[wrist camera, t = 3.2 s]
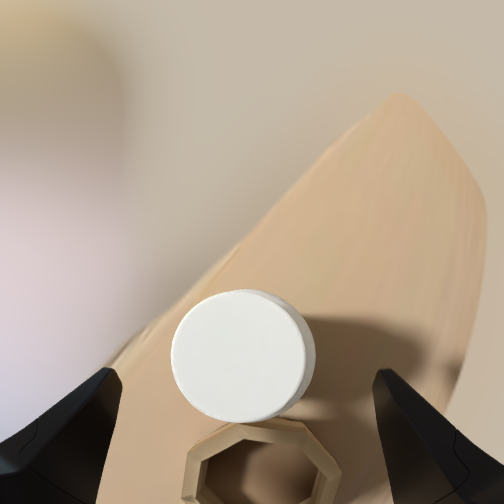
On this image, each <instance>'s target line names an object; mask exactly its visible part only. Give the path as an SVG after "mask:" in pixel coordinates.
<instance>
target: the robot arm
mask: <svg viewBox="0 0 504 504" xmlns="http://www.w3.org/2000/svg"><path fill="white" fill-rule="evenodd" d="M372 391H373V397H374V404H375V412H376V420H377V427H378V432H379V436H380V440H381V444H382V449H383V453H384V457H385V462H386V466H387V471H388V476H389V481H390V486H391V491H392V497H393V502H394V504H504V465H503V464H501V463H499V462H498V461H497V460H495V459H494V458H493V457H491V456H489V455H488V454H487V453H485V452H484V451H483V450H481V449H480V448H479V447H477V446H476V445H475V444H473V443H472V442H471V441H470V440H469V439H468V438H466V437H465V436H464V435H463V434H462V433H461V432H460V431H459V430H458V429H456V428H455V427H454V426H453V425H452V424H451V423H450V422H449V421H448V420H447V419H446V418H445V417H444V416H443V415H441V414H440V413H439V412H438V411H437V410H436V409H435V408H434V407H433V406H432V405H431V404H430V403H428V402H427V401H426V400H425V399H424V398H423V397H422V396H421V395H420V394H419V393H418V392H416V391H415V390H414V389H413V388H412V387H411V386H410V385H409V384H408V383H407V382H406V381H404V380H403V379H402V378H401V377H400V376H399V375H398V374H397V373H396V372H395V371H394V370H392V369H391V368H383V369H379V370H378V372H377V374H376V377H375V380H374V382H373V386H372ZM121 393H122V382H121V380H120V379H119V377H118V375H117V373H116V371H115V370H114V369H112V368H107V367H104V368H102V369H100V370H99V371H98V372H97V373H95V374H94V375H93V376H91V377H90V378H89V379H87V380H86V381H85V382H84V383H82V384H81V385H80V386H78V387H77V388H76V389H74V390H73V391H72V392H71V393H69V394H68V395H67V396H65V397H64V398H63V399H62V400H60V401H59V402H58V403H56V404H55V405H54V406H52V407H51V408H50V409H49V410H47V411H46V412H45V413H43V414H42V415H41V416H39V418H37V419H35V420H34V421H33V422H32V423H30V424H29V425H28V426H26V427H25V428H24V429H22V430H20V431H19V432H17V433H16V434H14V435H13V436H11V437H9V438H8V439H6V440H4V441H3V442H1V443H0V504H95V503H96V498H97V494H98V489H99V485H100V481H101V476H102V472H103V468H104V464H105V460H106V457H107V453H108V449H109V445H110V442H111V438H112V435H113V431H114V428H115V424H116V420H117V414H118V409H119V403H120V398H121Z"/></svg>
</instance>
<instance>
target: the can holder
mask: <svg viewBox="0 0 504 504" xmlns="http://www.w3.org/2000/svg"><path fill="white" fill-rule="evenodd" d="M341 476H342V472H341V470H340V468H339V467H338V465H337V463H336V462H335V460H334V459H333V457H332V456H331V455H330V454H329V453H328V452H327V451H326V449H325V448H324V447H323V446H322V445H321V443H320V442H319V441H318V439H317V438H316V437H315V436H314V435H313V434H312V433H311V432H310V431H309V429H308V428H307V427H306V426H305V425H304V423H303V422H297V421H289V420H286V419H283V418H278V417H273V418H271V419H268V420H264V421H260V422H252V423H231V422H230V423H228V424H226V425H224V426H222V427H221V428H219V429H218V430H216V431H215V432H214V433H212V434H210V435H209V436H207V437H205V438H203V439H201V440H199V441H198V442H197V443H196V444H195V445H194V446H193V447H192V449H191V450H190V451H189V452H188V453H187V459H186V466H185V473H184V481H183V488H182V496H181V499H182V500H183V501H184V502H185V504H333V502H334V499H335V496H336V493H337V489H338V486H339V483H340V480H341Z"/></svg>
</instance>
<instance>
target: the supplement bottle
mask: <svg viewBox="0 0 504 504" xmlns="http://www.w3.org/2000/svg"><path fill="white" fill-rule="evenodd" d="M315 361H316V352H315V344H314V340H313V336H312V333H311V331H310V329H309V327H308V325H307V323H306V321H305V320H304V318H303V317H302V316H301V314H300V313H299V312H298V311H297V310H296V309H295V308H294V307H293V306H292V305H291V304H289V303H288V302H287V301H285V300H284V299H282V298H280V297H278V296H276V295H274V294H271V293H268V292H265V291H261V290H254V289H240V290H233V291H229V292H224V293H220V294H217V295H214V296H211V297H209V298H207V299H205V300H203V301H202V302H200V303H198V304H197V305H196V306H195V307H193V308H192V309H191V310H190V311H189V312H188V313H187V314H186V316H185V317H184V318H183V320H182V321H181V323H180V324H179V326H178V328H177V330H176V333H175V335H174V338H173V342H172V349H171V364H172V370H173V374H174V377H175V380H176V383H177V385H178V387H179V389H180V390H181V392H182V393H183V395H184V396H185V397H186V399H187V400H188V401H189V402H190V403H191V404H192V405H193V406H194V407H195V408H197V409H198V410H199V411H201V412H202V413H204V414H206V415H208V416H210V417H212V418H214V419H218V420H221V421H225V422H231V423H252V422H260V421H264V420H268V419H271V418H273V417H276V416H278V415H280V414H282V413H283V412H285V411H287V410H288V409H289V408H291V407H292V406H293V405H294V404H295V403H296V402H297V401H298V400H299V399H300V398H301V397H302V395H303V394H304V393H305V391H306V389H307V388H308V386H309V384H310V382H311V379H312V376H313V372H314V368H315Z"/></svg>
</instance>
